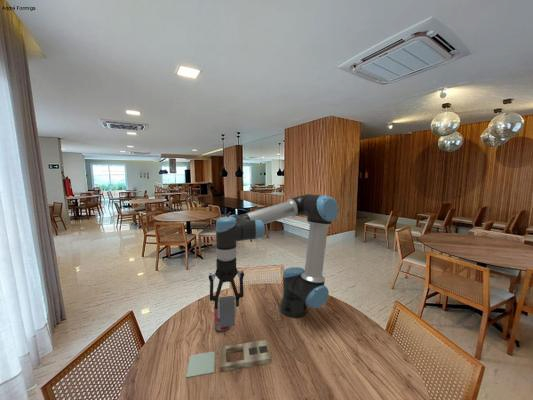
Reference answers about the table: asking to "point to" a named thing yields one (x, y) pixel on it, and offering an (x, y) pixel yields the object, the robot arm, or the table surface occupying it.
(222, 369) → the plate
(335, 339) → the table surface
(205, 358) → the mat
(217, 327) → the soda can
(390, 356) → the table surface
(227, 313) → the block
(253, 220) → the robot arm
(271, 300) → the table surface
